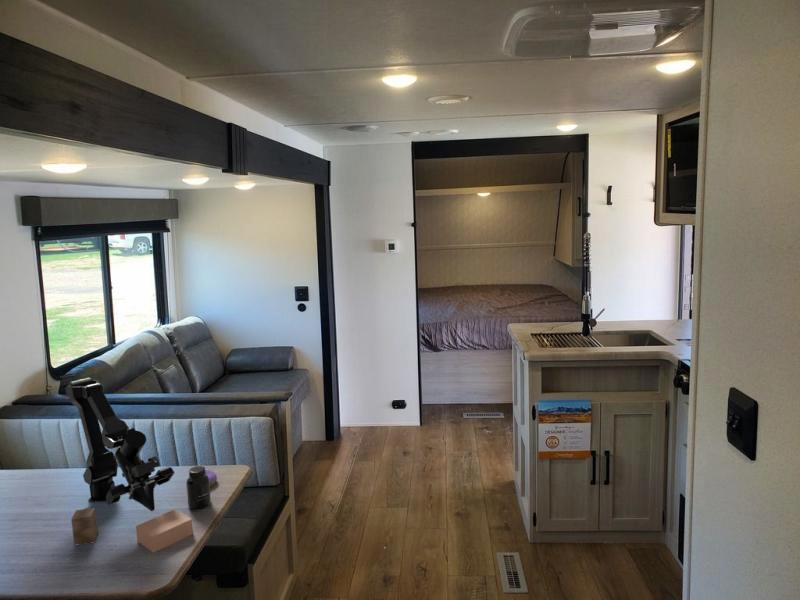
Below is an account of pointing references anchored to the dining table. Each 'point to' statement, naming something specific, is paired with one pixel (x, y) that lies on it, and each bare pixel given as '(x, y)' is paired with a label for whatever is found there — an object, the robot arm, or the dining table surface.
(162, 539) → the terracotta block
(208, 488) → the supplement bottle
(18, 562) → the dining table surface
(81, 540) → the walnut block
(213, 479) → the donut
